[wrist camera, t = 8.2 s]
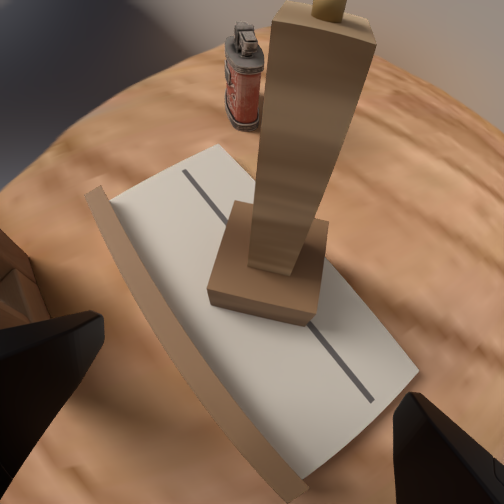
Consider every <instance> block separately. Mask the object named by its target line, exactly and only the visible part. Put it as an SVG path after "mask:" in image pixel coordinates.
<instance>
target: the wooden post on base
mask: <svg viewBox="0 0 504 504" xmlns="http://www.w3.org/2000/svg"><path fill="white" fill-rule="evenodd" d="M346 1H347V0H313V5H309V4H304V3H299V2H293V1H287V0H286V1H285V3H284V4H283V6H282V7H281V8H280V10H279V11H278V13H277V14H276V15H275V17H274V18H273V20H272V25H271V34H270V44H269V54H268V63H267V73H266V83H265V92H264V102H263V112H262V122H261V132H260V142H259V152H258V162H257V172H256V182H255V192H254V202H253V204H251V203H246V202H241V201H237V200H235V201H234V204H233V207H232V210H231V213H230V216H229V219H228V222H227V225H226V228H225V231H224V234H223V237H222V240H221V244H220V247H219V250H218V253H217V256H216V259H215V263H214V266H213V269H212V272H211V275H210V279H209V282H208V285H207V288H206V289H207V293H208V297H209V301H210V305H212V306H216V307H220V308H224V309H228V310H232V311H236V312H240V313H244V314H248V315H253V316H257V317H261V318H266V319H270V320H274V321H279V322H283V323H288V324H293V325H297V326H302V327H305V326H306V325H307V324H308V322H309V321H310V320H311V319H312V318H313V317H314V316H315V315H316V313H317V307H318V301H319V294H320V287H321V280H322V273H323V266H324V258H325V250H326V242H327V234H328V225H329V222H328V221H324V220H320V219H316V218H314V217H315V214H316V212H317V209H318V207H319V204H320V202H321V199H322V197H323V194H324V192H325V189H326V187H327V184H328V182H329V179H330V176H331V174H332V171H333V169H334V166H335V163H336V161H337V158H338V155H339V153H340V150H341V147H342V145H343V142H344V139H345V136H346V134H347V131H348V128H349V125H350V123H351V120H352V117H353V114H354V111H355V109H356V106H357V103H358V100H359V97H360V94H361V91H362V88H363V85H364V83H365V80H366V77H367V74H368V71H369V68H370V65H371V61H372V58H373V55H374V52H375V49H376V45H377V44H376V41H375V38H374V35H373V32H372V30H371V27H370V24H369V21H368V19H365V18H362V17H359V16H355V15H352V14H348V13H345V12H344V10H345V5H346Z"/></svg>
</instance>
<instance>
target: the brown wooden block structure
mask: <svg viewBox="0 0 504 504" xmlns="http://www.w3.org/2000/svg"><path fill="white" fill-rule="evenodd" d="M48 319H51V318H50V316H49V313H48V311H47V309H46V306H45V304H44V301H43V299H42V296H41V293H40V291H39V288H38V286H37V285H36V280H35V277H34V274H33V271H32V268H31V265H30V262H29V259H28V255H27V254H26V253H25V252H24V251H23V250H22V249H21V248H19V247H18V246H17V245H16V244H15V243H14V242H13V241H12V240H11V239H10V238H9V237H8V236H7V235H6V234H5V233H4V232H3V231H2V230H1V229H0V329H5V328H10V327H14V326H19V325H24V324H29V323H34V322H38V321H43V320H48Z"/></svg>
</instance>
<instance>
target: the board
mask: <svg viewBox="0 0 504 504" xmlns="http://www.w3.org/2000/svg"><path fill="white" fill-rule="evenodd" d="M255 182H256V181H255V180H254V179H253V178H252V177H251V176H250V175H249V174H248V173H247V172H246V171H245V170H244V169H243V168H242V167H241V166H240V165H239V164H238V163H237V162H236V161H235V160H234V159H233V158H232V157H231V156H230V155H229V154H228V153H227V152H226V151H225V150H224V149H223V148H222V147H221V146H220V145H219V144H217V145H214V146H212V147H210V148H208V149H206V150H204V151H202V152H199V153H197V154H195V155H193V156H191V157H189V158H187V159H185V160H183V161H181V162H179V163H177V164H175V165H173V166H171V167H169V168H167V169H165V170H163V171H161V172H160V173H158V174H156V175H154V176H152V177H150V178H148V179H146V180H145V181H143V182H141V183H139V184H137V185H135V186H134V187H132V188H130V189H128V190H127V191H125V192H123V193H121V194H120V195H118V196H116V197H115V198H113V199H111V200H108V198H107V196H106V194H105V192H104V190H103V188H102V186H101V185H100V186H99V187H97V188H95V189H93V190H92V191H90V192H89V193H87V194H85V195H84V196H85V198H86V201H87V203H88V206H89V208H90V210H91V212H92V215H93V217H94V219H95V221H96V224H97V226H98V228H99V230H100V232H101V234H102V237H103V239H104V241H105V243H106V245H107V247H108V249H109V251H110V253H111V255H112V257H113V259H114V261H115V263H116V265H117V267H118V269H119V271H120V273H121V275H122V277H123V279H124V280H125V282H126V284H127V286H128V288H129V290H130V292H131V293H132V295H133V297H134V299H135V301H136V302H137V304H138V306H139V308H140V309H141V311H142V313H143V315H144V316H145V318H146V320H147V321H148V323H149V325H150V326H151V328H152V330H153V331H154V333H155V335H156V336H157V338H158V340H159V341H160V343H161V344H162V346H163V348H164V349H165V351H166V352H167V354H168V355H169V357H170V358H171V360H172V361H173V363H174V364H175V366H176V368H177V369H178V370H179V372H180V373H181V375H182V376H183V378H184V379H185V381H186V382H187V384H188V385H189V387H190V388H191V389H192V391H193V392H194V394H195V395H196V396H197V398H198V399H199V401H200V402H201V403H202V405H203V406H204V407H205V409H206V410H207V411H208V413H209V414H210V415H211V417H212V418H213V419H214V421H215V422H216V423H217V424H218V426H219V427H220V428H221V430H222V431H223V432H224V433H225V435H226V436H227V437H228V438H229V440H230V441H231V442H232V443H233V444H234V446H235V447H236V448H237V449H238V451H239V452H240V453H241V454H242V455H243V456H244V458H245V459H246V460H247V461H248V462H249V463H250V465H251V466H252V467H253V468H254V469H255V470H256V471H257V472H258V474H259V475H260V476H261V477H262V478H263V479H264V480H265V481H266V482H267V483H268V484H269V486H270V487H271V488H272V489H273V490H274V491H275V492H276V493H277V494H278V495H279V496H280V497H281V498H282V499H283V500H284V501H285V502H286V503H287V504H288V503H290V502H291V501H293V500H294V499H296V498H297V497H299V496H300V495H301V494H303V493H304V492H306V491H307V490H308V489H310V488H309V487H308V486H307V485H306V484H305V482H304V481H303V479H304V478H305V477H307V476H308V475H309V474H311V473H312V472H313V471H315V470H316V469H317V468H319V467H320V466H321V465H323V464H324V463H325V462H326V461H328V460H329V459H330V458H331V457H332V456H334V455H335V454H336V453H337V452H339V451H340V450H341V449H342V448H343V447H344V446H346V445H347V444H348V443H349V442H350V441H351V440H352V439H354V438H355V437H356V436H357V435H358V434H359V433H360V432H361V431H362V430H363V429H364V428H366V427H367V426H368V425H369V424H370V423H371V422H372V421H373V420H374V419H375V418H376V417H377V416H378V415H379V414H380V413H381V412H382V411H383V410H384V409H385V408H386V407H387V406H388V405H389V404H390V403H391V402H392V401H393V400H394V399H395V398H396V396H397V395H398V394H399V393H400V392H401V391H402V390H403V389H404V388H405V387H406V386H407V384H408V383H409V382H410V381H411V380H412V379H413V378H414V376H415V375H416V374H417V373H418V372H419V370H418V368H417V367H416V366H415V364H414V363H413V362H412V361H411V359H410V358H409V357H408V355H407V354H406V353H405V352H404V350H403V349H402V348H401V347H400V345H399V344H398V343H397V342H396V340H395V339H394V338H393V337H392V335H391V334H390V333H389V332H388V330H387V329H386V328H385V327H384V326H383V324H382V323H381V322H380V321H379V319H378V318H377V317H376V316H375V315H374V313H373V312H372V311H371V310H370V309H369V307H368V306H367V305H366V304H365V303H364V301H363V300H362V299H361V298H360V297H359V296H358V294H357V293H356V292H355V291H354V290H353V288H352V287H351V286H350V285H349V284H348V283H347V281H346V280H345V279H344V278H343V277H342V276H341V275H340V273H339V272H338V271H337V270H336V269H335V268H334V266H333V265H332V264H331V263H330V262H329V261H328V260H327V259H326V257H325V258H324V266H323V273H322V280H321V287H320V294H319V301H318V307H317V313H316V315H315V316H314V317H313V318H312V319H311V320H310V321H309V322H308V324H307V325H306V326H305V327H302V326H297V325H293V324H288V323H283V322H279V321H274V320H270V319H266V318H261V317H257V316H253V315H248V314H244V313H240V312H236V311H232V310H228V309H224V308H220V307H216V306H212V305H210V301H209V297H208V293H207V289H206V288H207V285H208V282H209V279H210V275H211V272H212V269H213V266H214V263H215V259H216V256H217V253H218V250H219V247H220V244H221V240H222V237H223V234H224V231H225V228H226V225H227V222H228V219H229V216H230V213H231V210H232V207H233V204H234V201H235V200H237V201H241V202H246V203H251V204H253V202H254V192H255Z"/></svg>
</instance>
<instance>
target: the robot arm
mask: <svg viewBox="0 0 504 504" xmlns="http://www.w3.org/2000/svg"><path fill="white" fill-rule="evenodd" d="M104 339H105V335H104V318H103V316H102V315H101V314H99V313H97V312H94V311H92V310H89V311H85V312H80V313H76V314H71V315H67V316H62V317H57V318H53V319H48V320H43V321H38V322H34V323H29V324H24V325H19V326H14V327H10V328H5V329H0V500H1V498H2V496H3V495H4V493H5V491H6V490H7V488H8V487H9V485H10V484H11V482H12V480H13V478H14V477H15V475H16V474H17V472H18V471H19V469H20V468H21V466H22V465H23V463H24V461H25V460H26V458H27V457H28V455H29V454H30V452H31V451H32V450H33V448H34V447H35V445H36V444H37V442H38V441H39V439H40V438H41V436H42V435H43V434H44V432H45V431H46V429H47V428H48V426H49V425H50V424H51V422H52V421H53V419H54V418H55V417H56V415H57V414H58V412H59V411H60V410H61V408H62V407H63V405H64V404H65V403H66V401H67V400H68V399H69V397H70V396H71V395H72V393H73V392H74V391H75V389H76V388H77V386H78V385H79V384H80V382H81V381H82V379H83V377H84V376H85V374H86V372H87V371H88V369H89V367H90V366H91V364H92V362H93V360H94V359H95V357H96V355H97V354H98V352H99V350H100V349H101V347H102V345H103V343H104ZM393 463H394V475H395V488H396V504H504V465H502V464H501V463H500V462H499V461H498V460H497V459H496V458H493V456H492V455H491V454H490V453H489V452H488V451H486V450H485V449H484V448H483V447H482V446H481V445H480V444H478V443H477V442H476V441H475V440H474V439H473V438H472V437H470V436H469V435H468V434H467V433H466V432H465V431H464V430H462V429H461V428H460V427H459V426H458V425H457V424H456V423H454V422H453V421H452V420H451V419H450V418H449V417H448V416H446V415H445V414H444V413H443V412H442V411H441V410H440V409H438V408H437V407H436V406H435V405H434V404H433V403H432V402H430V401H429V400H428V399H427V398H426V397H425V396H423V395H422V394H421V393H417V392H408V393H407V394H406V395H405V396H404V398H403V399H402V401H401V403H400V404H399V406H398V407H397V408H396V410H395V412H394V415H393Z"/></svg>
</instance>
